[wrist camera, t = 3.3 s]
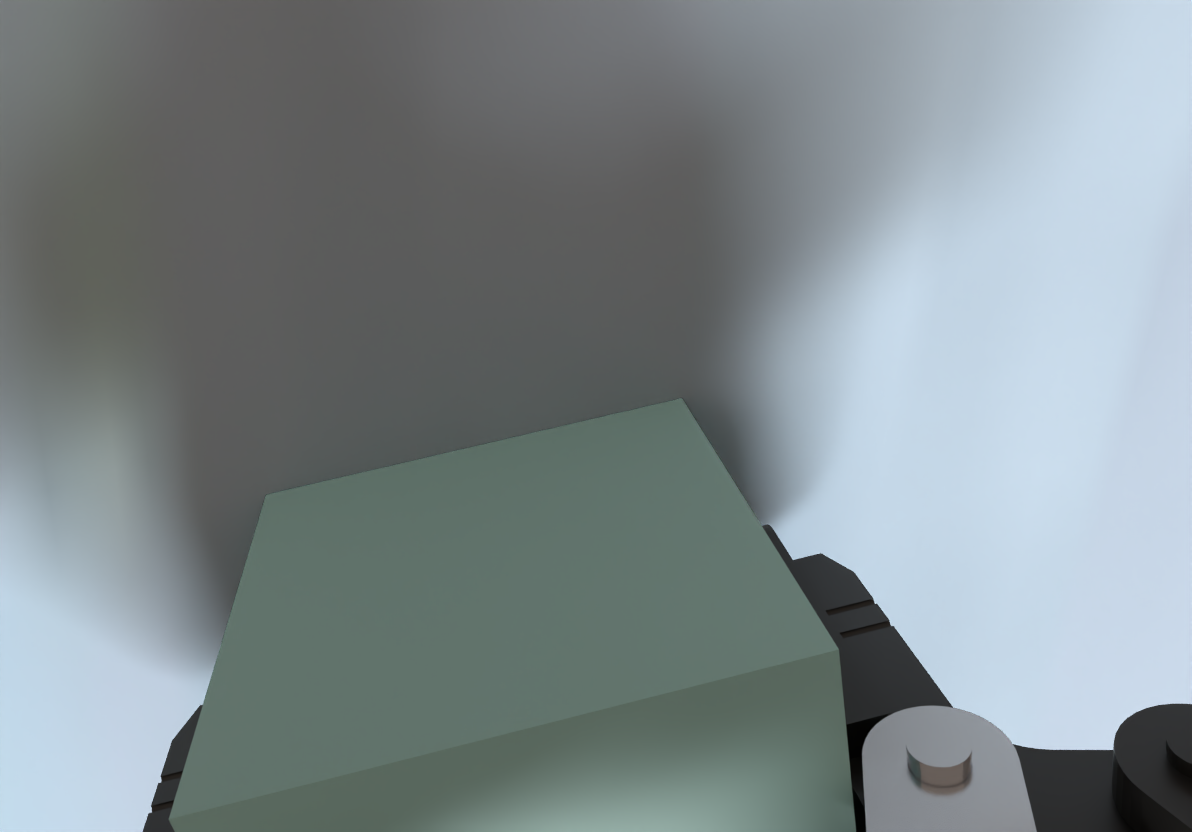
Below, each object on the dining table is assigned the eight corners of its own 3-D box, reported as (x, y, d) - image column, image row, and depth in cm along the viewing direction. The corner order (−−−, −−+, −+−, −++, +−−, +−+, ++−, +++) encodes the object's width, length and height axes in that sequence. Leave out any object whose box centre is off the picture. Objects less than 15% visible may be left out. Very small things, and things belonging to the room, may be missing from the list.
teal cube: (682, 397, 12) (839, 650, 8) (731, 717, 14) (878, 1066, 10) (266, 494, 12) (169, 819, 7) (380, 807, 14) (361, 1212, 9)
